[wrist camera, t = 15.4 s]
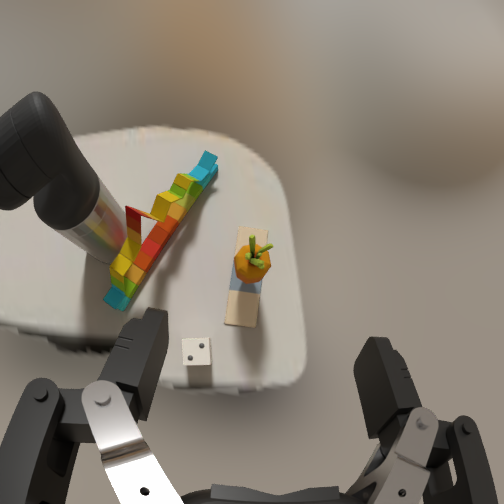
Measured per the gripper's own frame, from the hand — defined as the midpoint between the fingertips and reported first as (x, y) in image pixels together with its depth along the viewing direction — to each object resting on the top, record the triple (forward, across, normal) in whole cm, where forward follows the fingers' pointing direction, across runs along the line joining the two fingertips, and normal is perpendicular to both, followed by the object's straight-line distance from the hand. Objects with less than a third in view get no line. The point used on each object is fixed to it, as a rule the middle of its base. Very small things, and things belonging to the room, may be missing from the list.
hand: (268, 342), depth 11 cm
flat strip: (+33, 0, +19) cm, 38 cm away
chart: (+37, +15, +16) cm, 43 cm away
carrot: (+33, 0, +19) cm, 38 cm away
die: (+24, +6, +28) cm, 37 cm away
